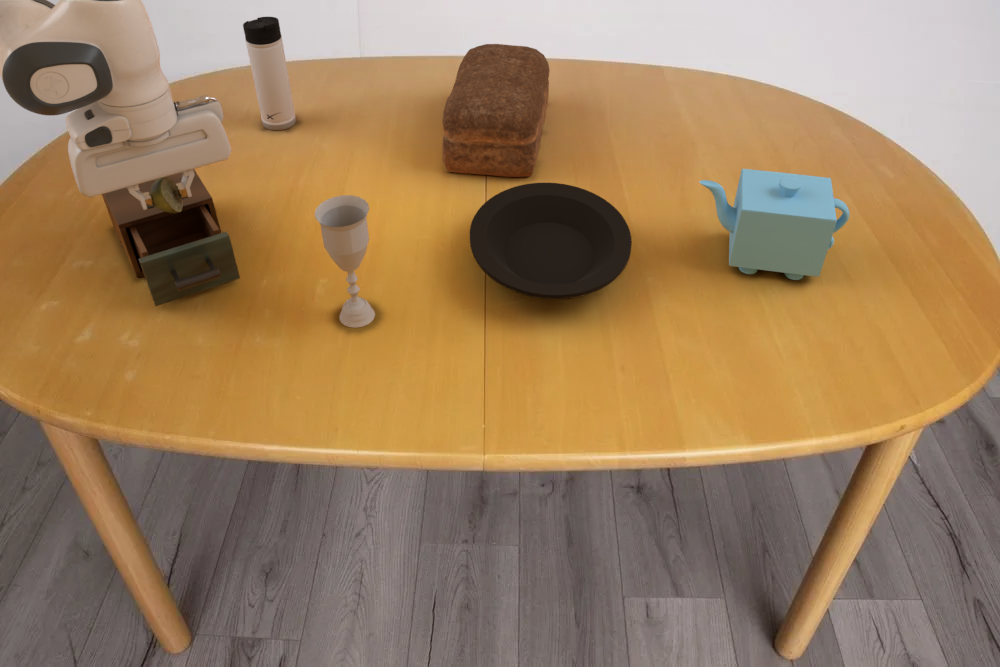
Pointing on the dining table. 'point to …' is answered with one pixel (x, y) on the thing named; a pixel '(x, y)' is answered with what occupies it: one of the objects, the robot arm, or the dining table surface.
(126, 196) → the cabinet
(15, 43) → the robot arm
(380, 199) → the dining table surface
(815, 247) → the teapot
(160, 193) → the lime
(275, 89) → the travel mug
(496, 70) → the bread
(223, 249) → the drawer
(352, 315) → the chalice
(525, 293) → the plate
